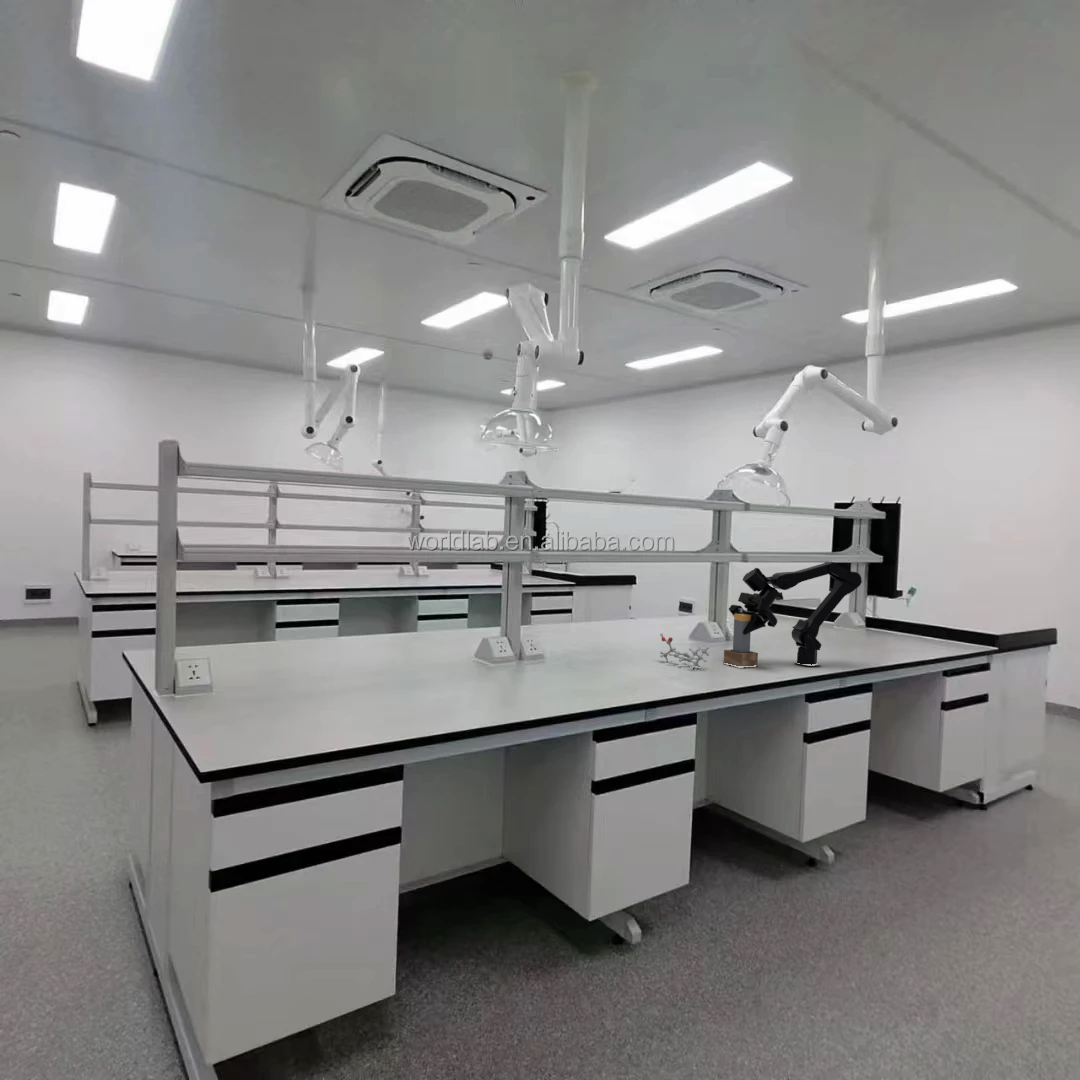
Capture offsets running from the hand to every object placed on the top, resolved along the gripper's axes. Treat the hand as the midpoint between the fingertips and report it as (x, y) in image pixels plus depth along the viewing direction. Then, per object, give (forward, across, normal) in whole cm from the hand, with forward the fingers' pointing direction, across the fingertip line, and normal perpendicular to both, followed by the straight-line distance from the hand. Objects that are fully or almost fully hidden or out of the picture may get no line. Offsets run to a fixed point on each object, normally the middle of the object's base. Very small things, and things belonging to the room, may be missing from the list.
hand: (739, 632), depth 237 cm
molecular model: (+22, -6, -5) cm, 23 cm away
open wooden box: (+7, 0, +9) cm, 12 cm away
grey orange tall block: (+4, 0, +6) cm, 7 cm away
